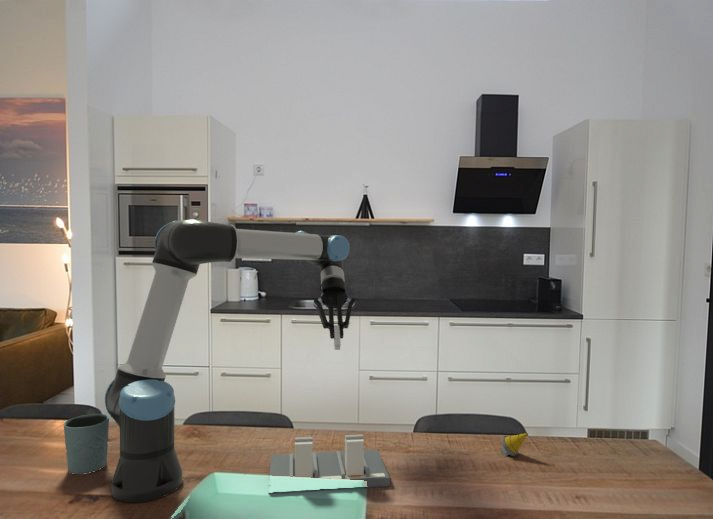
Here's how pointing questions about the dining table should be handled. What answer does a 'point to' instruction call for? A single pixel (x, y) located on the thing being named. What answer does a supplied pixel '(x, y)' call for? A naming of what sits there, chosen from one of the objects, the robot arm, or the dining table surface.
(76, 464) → the teal cup
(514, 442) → the yellow spinning top
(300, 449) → the tab left
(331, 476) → the switch bank
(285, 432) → the dining table surface
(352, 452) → the tab right
